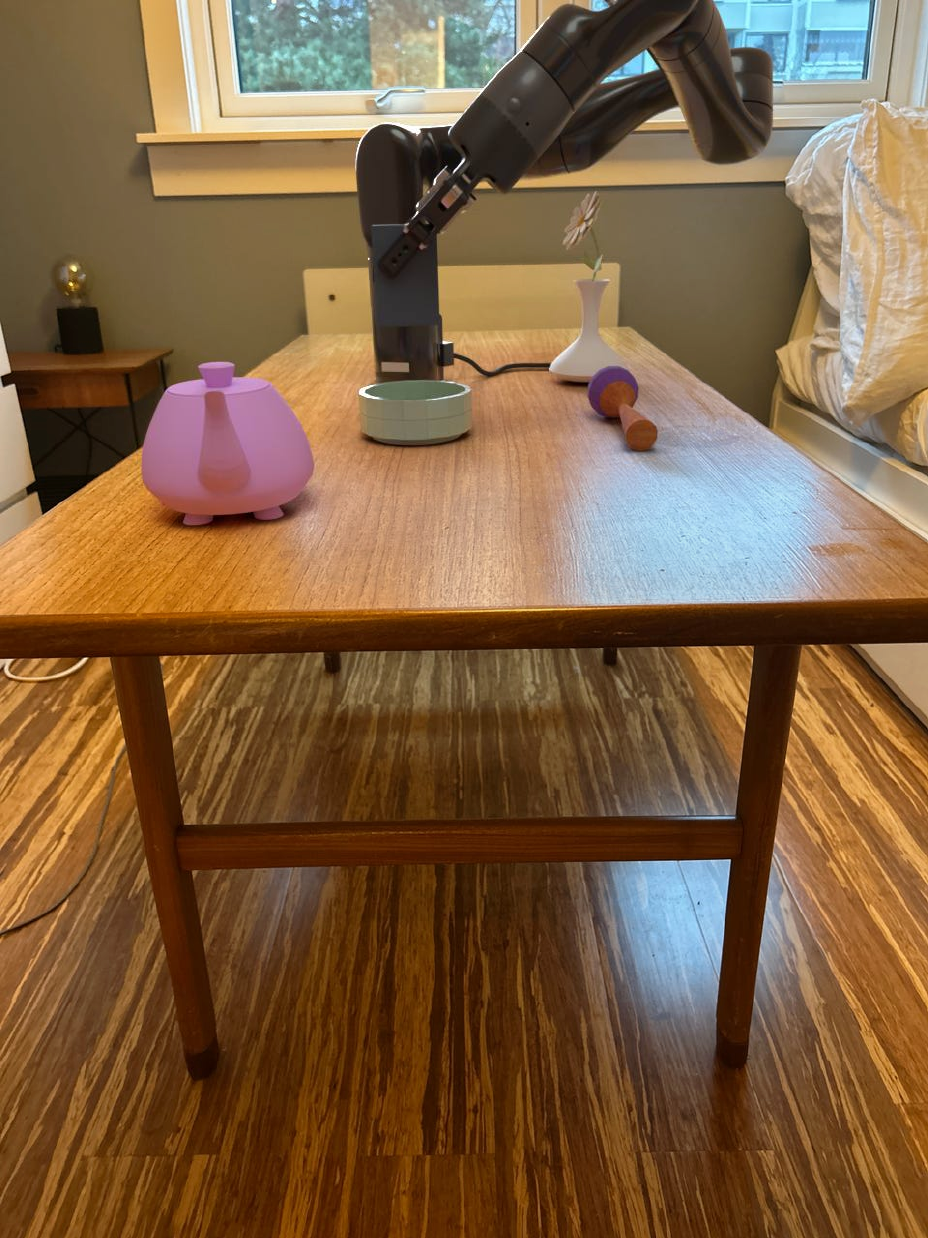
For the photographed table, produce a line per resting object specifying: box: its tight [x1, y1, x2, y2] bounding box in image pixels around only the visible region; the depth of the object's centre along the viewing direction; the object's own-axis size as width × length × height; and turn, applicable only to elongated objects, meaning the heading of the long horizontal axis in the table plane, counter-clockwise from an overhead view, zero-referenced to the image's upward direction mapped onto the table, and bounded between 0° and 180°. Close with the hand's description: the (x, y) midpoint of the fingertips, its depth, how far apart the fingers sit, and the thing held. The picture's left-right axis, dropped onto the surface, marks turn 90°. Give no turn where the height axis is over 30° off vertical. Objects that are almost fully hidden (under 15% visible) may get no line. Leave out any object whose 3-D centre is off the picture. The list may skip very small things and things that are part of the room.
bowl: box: [358, 380, 473, 446], centre depth 101 cm, size 12×12×5 cm
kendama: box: [586, 366, 659, 452], centre depth 101 cm, size 6×6×20 cm
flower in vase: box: [548, 190, 629, 384], centre depth 125 cm, size 13×11×25 cm
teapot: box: [140, 361, 315, 526], centre depth 74 cm, size 20×14×12 cm
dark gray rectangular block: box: [372, 223, 440, 327], centre depth 87 cm, size 3×6×9 cm, turn 94°
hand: (384, 270), depth 86 cm, fingers closed on dark gray rectangular block, 3 cm apart
